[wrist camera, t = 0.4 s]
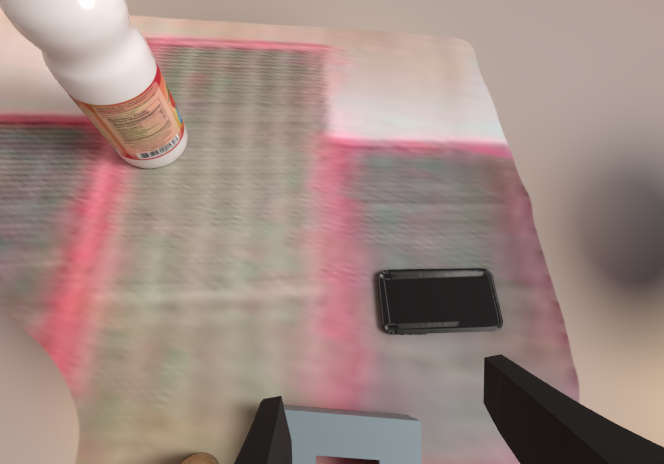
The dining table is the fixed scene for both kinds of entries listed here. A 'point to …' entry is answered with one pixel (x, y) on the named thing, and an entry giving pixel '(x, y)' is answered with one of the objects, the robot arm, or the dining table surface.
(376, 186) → the dining table surface
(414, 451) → the box
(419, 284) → the phone
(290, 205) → the dining table surface
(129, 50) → the fruit juice
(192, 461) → the disc
